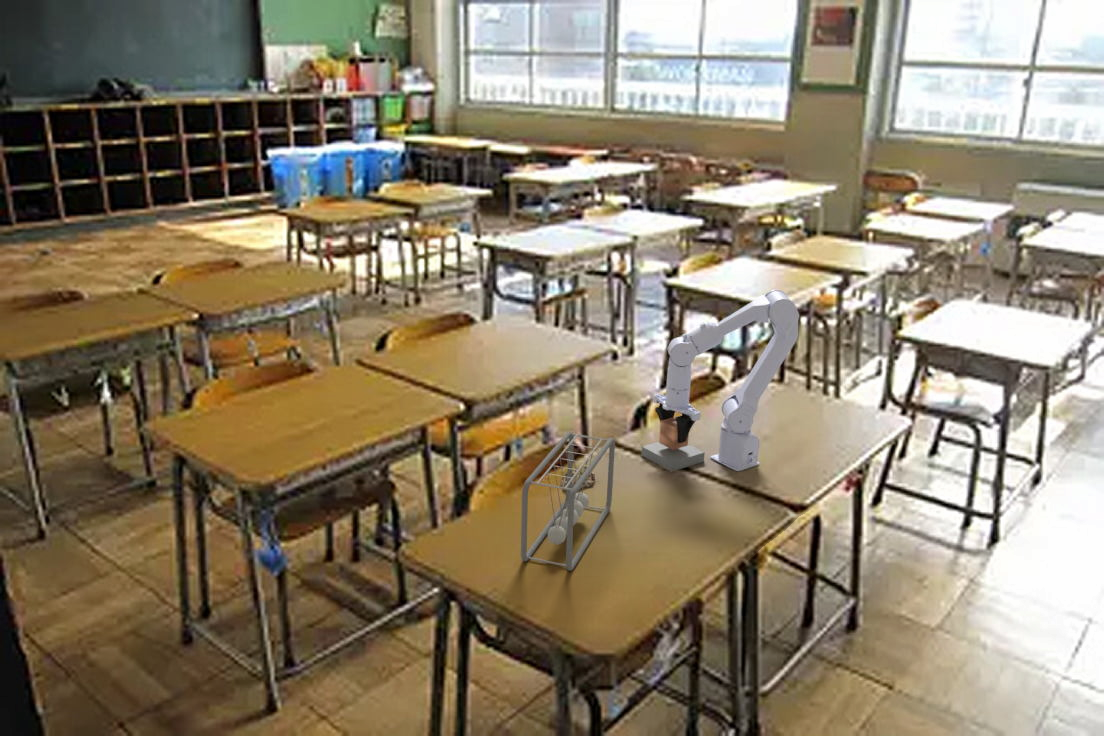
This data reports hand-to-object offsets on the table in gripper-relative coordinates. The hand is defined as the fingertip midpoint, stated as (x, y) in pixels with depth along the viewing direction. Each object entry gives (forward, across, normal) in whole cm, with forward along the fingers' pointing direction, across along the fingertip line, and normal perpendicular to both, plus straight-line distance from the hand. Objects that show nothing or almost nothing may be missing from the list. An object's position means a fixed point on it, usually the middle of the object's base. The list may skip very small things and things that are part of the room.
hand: (674, 438), depth 231 cm
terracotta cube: (+2, 0, 0) cm, 2 cm away
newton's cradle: (+6, +16, -45) cm, 48 cm away
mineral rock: (+6, -2, -28) cm, 29 cm away
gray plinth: (+6, 0, 0) cm, 6 cm away
